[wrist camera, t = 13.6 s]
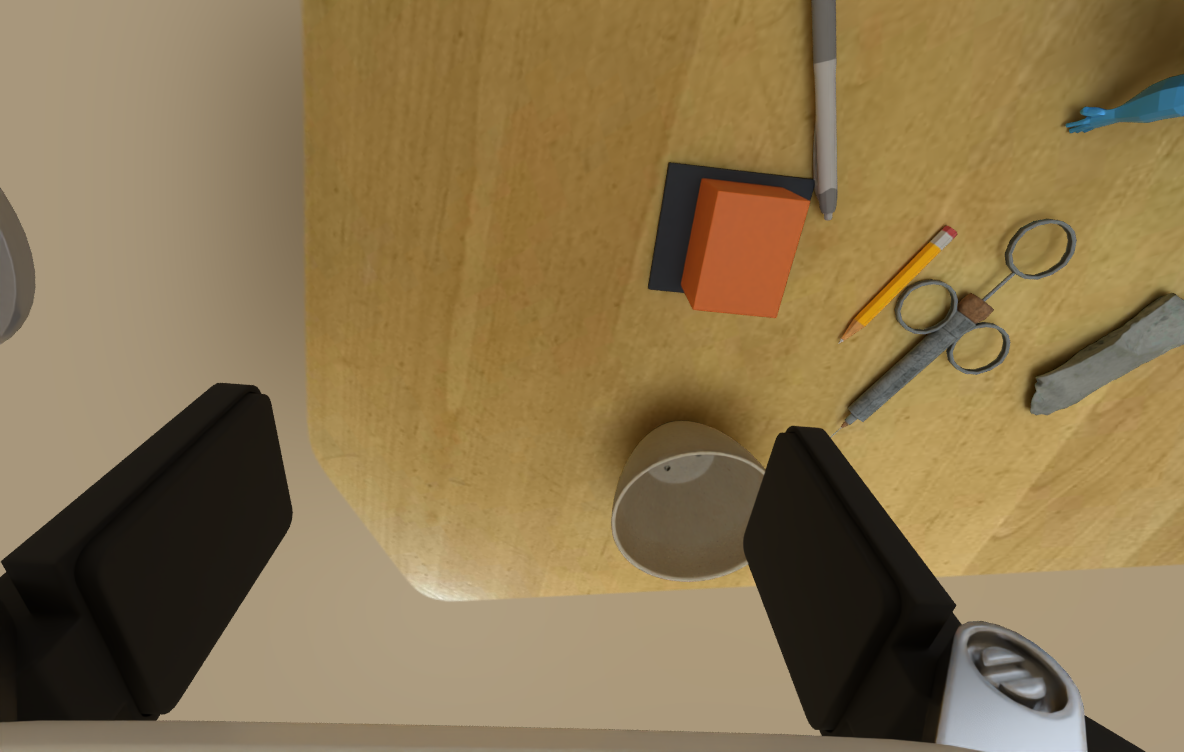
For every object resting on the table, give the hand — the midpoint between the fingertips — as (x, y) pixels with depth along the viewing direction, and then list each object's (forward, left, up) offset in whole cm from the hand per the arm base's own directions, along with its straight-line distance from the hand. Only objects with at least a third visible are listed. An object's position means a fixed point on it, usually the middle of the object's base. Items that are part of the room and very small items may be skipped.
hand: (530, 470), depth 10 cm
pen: (+12, +8, -22) cm, 27 cm away
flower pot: (+9, -15, -23) cm, 29 cm away
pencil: (+20, -2, -22) cm, 30 cm away
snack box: (+9, 0, -22) cm, 24 cm away
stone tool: (+33, -3, -21) cm, 39 cm away
